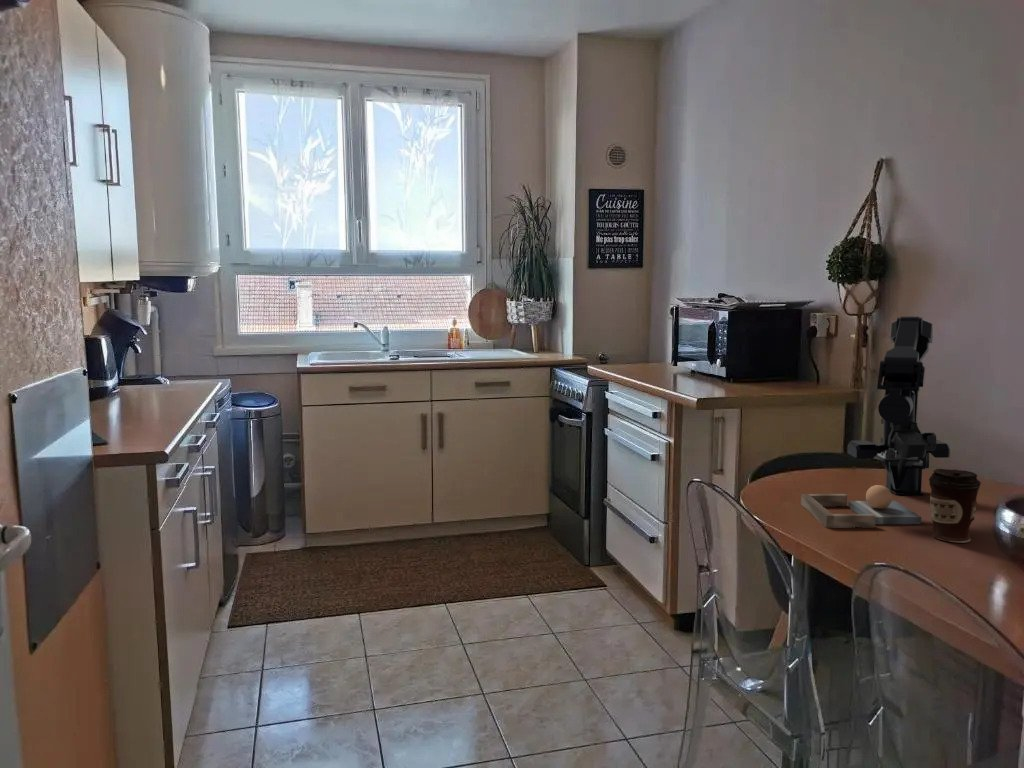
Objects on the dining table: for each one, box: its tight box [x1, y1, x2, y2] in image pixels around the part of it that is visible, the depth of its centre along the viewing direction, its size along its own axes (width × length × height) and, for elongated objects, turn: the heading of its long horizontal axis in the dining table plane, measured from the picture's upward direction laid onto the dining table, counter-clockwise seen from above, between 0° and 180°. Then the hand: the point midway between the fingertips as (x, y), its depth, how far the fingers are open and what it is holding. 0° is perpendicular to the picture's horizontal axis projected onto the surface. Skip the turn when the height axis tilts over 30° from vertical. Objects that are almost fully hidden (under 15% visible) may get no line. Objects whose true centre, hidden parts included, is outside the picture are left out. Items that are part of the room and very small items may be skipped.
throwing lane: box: [800, 493, 922, 529], centre depth 163 cm, size 20×16×2 cm
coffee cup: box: [928, 468, 982, 544], centre depth 147 cm, size 9×8×13 cm
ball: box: [865, 484, 893, 509], centre depth 163 cm, size 5×5×5 cm
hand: (896, 489), depth 162 cm, fingers closed
